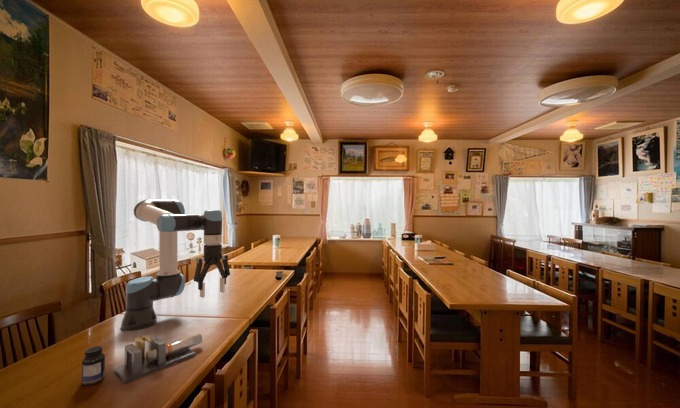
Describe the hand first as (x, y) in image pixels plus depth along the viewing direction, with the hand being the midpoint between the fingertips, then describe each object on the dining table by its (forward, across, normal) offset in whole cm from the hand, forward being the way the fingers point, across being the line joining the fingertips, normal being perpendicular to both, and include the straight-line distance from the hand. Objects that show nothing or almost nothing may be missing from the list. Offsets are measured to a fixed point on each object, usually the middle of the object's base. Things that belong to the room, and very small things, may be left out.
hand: (212, 294), depth 132 cm
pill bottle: (+22, -41, +5) cm, 46 cm away
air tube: (+20, -15, 0) cm, 25 cm away
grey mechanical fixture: (+21, -22, 0) cm, 31 cm away
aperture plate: (+20, -26, +2) cm, 33 cm away
